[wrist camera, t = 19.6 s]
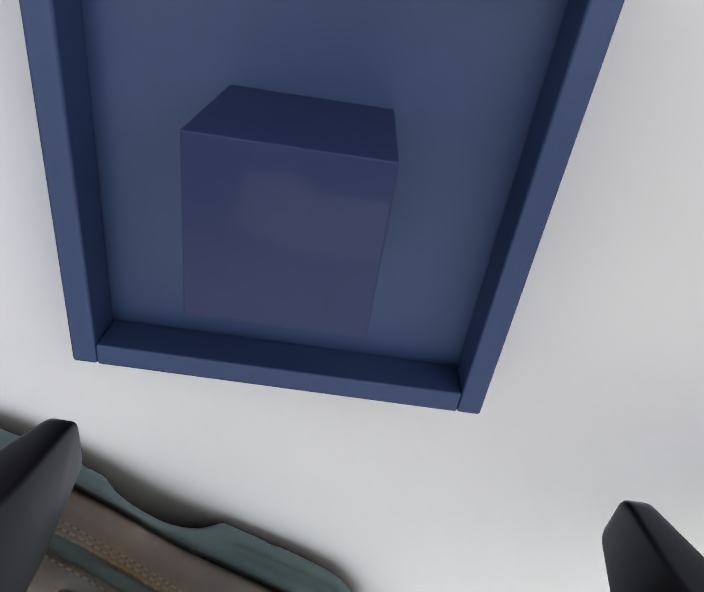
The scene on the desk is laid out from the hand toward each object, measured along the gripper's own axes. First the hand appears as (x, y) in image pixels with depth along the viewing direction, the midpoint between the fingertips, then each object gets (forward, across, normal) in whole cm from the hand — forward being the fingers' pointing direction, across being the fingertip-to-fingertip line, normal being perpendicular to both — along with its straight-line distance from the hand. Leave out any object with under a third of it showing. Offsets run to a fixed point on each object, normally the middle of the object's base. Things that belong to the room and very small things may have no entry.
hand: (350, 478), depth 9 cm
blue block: (+9, +2, -2) cm, 10 cm away
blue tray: (+10, +2, -2) cm, 10 cm away
